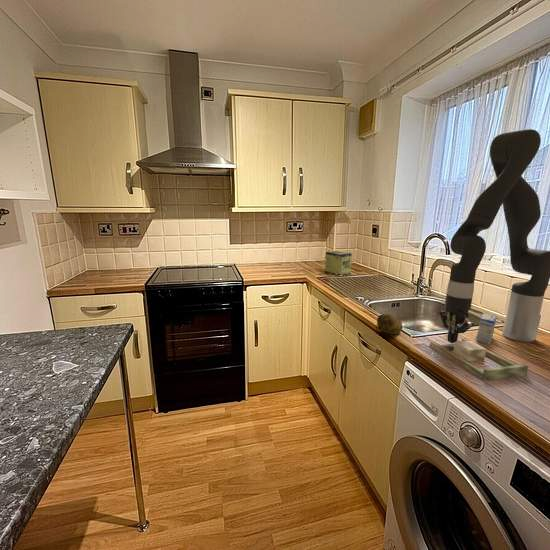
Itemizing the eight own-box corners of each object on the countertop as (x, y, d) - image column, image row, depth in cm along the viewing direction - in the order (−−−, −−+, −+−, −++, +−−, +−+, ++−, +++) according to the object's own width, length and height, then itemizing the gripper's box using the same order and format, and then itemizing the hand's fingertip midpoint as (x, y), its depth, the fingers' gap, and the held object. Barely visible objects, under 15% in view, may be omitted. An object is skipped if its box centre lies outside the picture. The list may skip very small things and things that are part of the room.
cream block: (469, 351, 100) (471, 340, 100) (483, 360, 95) (486, 349, 94) (453, 352, 100) (455, 341, 99) (466, 361, 94) (469, 350, 93)
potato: (411, 335, 113) (413, 315, 111) (384, 340, 108) (386, 319, 106) (394, 326, 120) (397, 308, 118) (368, 331, 115) (370, 311, 114)
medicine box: (478, 334, 115) (482, 312, 113) (492, 337, 112) (497, 315, 110) (476, 340, 109) (480, 318, 107) (490, 344, 106) (495, 321, 104)
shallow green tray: (464, 342, 107) (465, 334, 106) (526, 375, 86) (528, 365, 86) (429, 345, 104) (430, 337, 103) (485, 380, 83) (487, 370, 83)
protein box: (341, 276, 206) (342, 254, 202) (324, 272, 218) (325, 251, 214) (350, 274, 212) (352, 253, 209) (333, 271, 224) (334, 250, 221)
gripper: (486, 299, 94) (476, 349, 98) (453, 288, 107) (446, 333, 111) (466, 300, 93) (457, 351, 97) (435, 289, 105) (429, 334, 109)
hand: (451, 341), depth 104 cm, fingers closed
